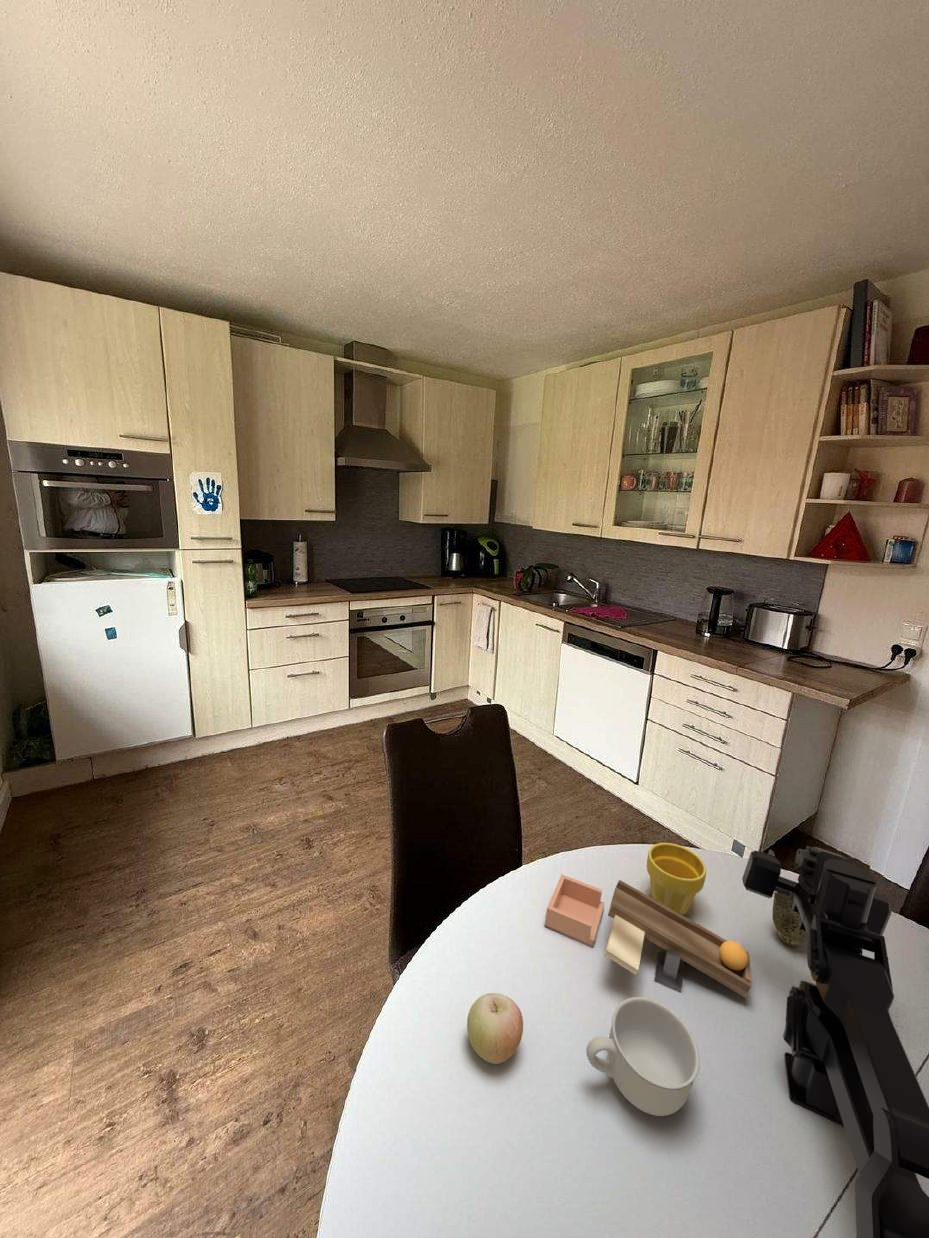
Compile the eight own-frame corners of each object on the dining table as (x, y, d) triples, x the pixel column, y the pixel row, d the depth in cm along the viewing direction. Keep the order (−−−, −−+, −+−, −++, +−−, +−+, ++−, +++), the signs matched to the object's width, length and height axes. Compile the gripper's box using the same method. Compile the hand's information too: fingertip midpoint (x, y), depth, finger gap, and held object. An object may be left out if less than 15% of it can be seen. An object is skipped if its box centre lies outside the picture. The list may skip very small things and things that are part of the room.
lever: (747, 1044, 71) (755, 1032, 70) (598, 951, 79) (604, 939, 78) (742, 961, 84) (749, 950, 84) (615, 888, 92) (620, 877, 91)
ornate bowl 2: (822, 960, 88) (833, 922, 86) (780, 956, 88) (790, 918, 86) (796, 925, 95) (806, 889, 93) (756, 921, 95) (766, 885, 93)
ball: (742, 981, 80) (752, 963, 78) (715, 966, 81) (725, 948, 80) (740, 961, 83) (751, 944, 82) (715, 947, 84) (725, 929, 83)
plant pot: (629, 887, 101) (637, 845, 99) (672, 879, 104) (680, 838, 102) (663, 929, 92) (673, 884, 89) (709, 919, 95) (719, 875, 93)
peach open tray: (592, 947, 87) (595, 928, 86) (544, 926, 90) (547, 907, 89) (603, 909, 95) (606, 891, 94) (559, 891, 99) (561, 874, 98)
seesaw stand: (680, 992, 80) (686, 966, 79) (654, 980, 82) (659, 955, 80) (684, 936, 91) (689, 913, 89) (661, 927, 92) (665, 904, 91)
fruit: (474, 1082, 66) (479, 1034, 64) (460, 1025, 72) (464, 981, 71) (528, 1068, 68) (535, 1021, 66) (509, 1014, 75) (515, 971, 73)
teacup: (674, 1047, 72) (684, 1002, 70) (701, 1141, 61) (714, 1091, 59) (575, 1031, 73) (582, 987, 71) (584, 1120, 62) (593, 1071, 61)
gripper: (926, 903, 68) (880, 842, 82) (770, 849, 74) (753, 801, 88) (897, 972, 70) (857, 900, 84) (748, 914, 76) (735, 856, 91)
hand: (799, 862), depth 87 cm, fingers open, 9 cm apart
